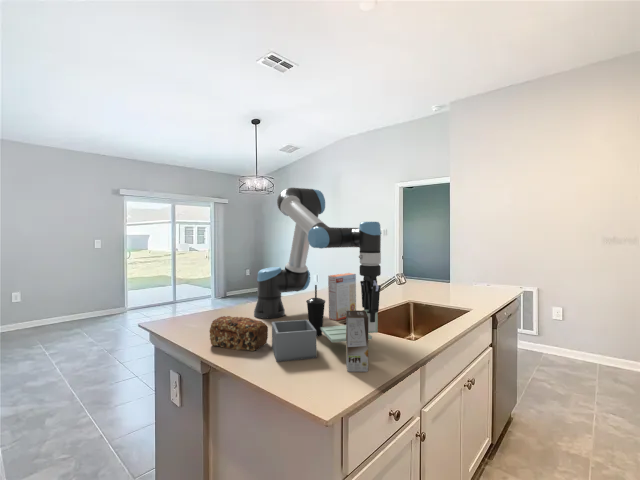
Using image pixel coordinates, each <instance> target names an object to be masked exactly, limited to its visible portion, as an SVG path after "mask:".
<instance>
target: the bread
mask: <svg viewBox="0 0 640 480" xmlns="http://www.w3.org/2000/svg"><path fill="white" fill-rule="evenodd" d="M268 328H269V327H268V325H267V324H266V323H265V322H263V321H262V320H257V319H253V318H251V317H247V316H246V317H243V316H230V315H227V316H225V315H224V316H219V317H217V318H216V319H213V321H212V323H210V327H209V340H210V345H211V346H213V347H216V346H218V347H221V348H224V349H231V350H237V351H249V352H254V351H257V350H259V349H260V347H263V346H265V345H266V344H268V343H267V342H268V338H269V337H268V335H269V329H268Z"/></svg>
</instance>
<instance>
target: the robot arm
mask: <svg viewBox="0 0 640 480" xmlns="http://www.w3.org/2000/svg"><path fill="white" fill-rule="evenodd" d="M276 203H277V204H276V205H277V208H278V211H280V213H281V214H282V215H284V216H286V217H289V218H290V219H292V221H293V222H294V223H295V225H294V231H293V237H292V243H291V247H290V248H291V249H290V255H289V261H288V262H286V263H285V266H284V269H282V268H281V267H279V266H271V267H267V268H265V267H264V268H262V269H260V270H258V272H257V279H256V281H257V300H256V304H255V307H254V310H253V316H254V317H255V318H258V319H277V318H281V317H284V316H285V314H286V311H285V306H284V304H283V300H282V293H293V292H300V291H301V292H302V291H305V290H306V289H307V288H308V287H309V285H310V283H311V273H310V270H309V269H308V267H307V265H306V264H307V258H308V254H309V250H310V247H311V248H313V249H336V248H338V249H339V248H359V255H358V258H359V263H360V265H359V275H360V276H362V277H363V280H360V282H359V283H360V288H361V289H360V290H361V293H360V294H361V307H362V308H363V310H369V311H367V313H368V331H375V313H376V312H378V313H379V311H380V310H379V309H380V293H381V289H382V286H381V284H380V285H379V284H378V280H377V279H378V278H377V277H380V276H381V273H382V272H381V267H382V266H381V265H380V264H382V261H381V260H382V251H381V246H382V245H381V241H382V238H381V236H382V235H381V234H382V230H381V224H380V222H379V221H361V222H360V223H359V227H331V226H328V225H327V224H326V223H324V222H323V221H322V219H320V218H319V215H322V214H323V213H324V212H325V210H326V198H325V196H324V194H323V192H322V191H321V190H319V189H314V188H303V187H301V188H300V187H288V188H285V189H284V190H282V191H280V193H279V195H278V197H277V199H276Z"/></svg>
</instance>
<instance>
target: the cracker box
mask: <svg viewBox="0 0 640 480" xmlns="http://www.w3.org/2000/svg"><path fill="white" fill-rule="evenodd" d="M327 278H328V279H327V281H328V288H327V289H328V319H329V320H332V321H341V320H346V311H356V310H357V274H356V273H350V272H346V273H340V274H339V273H338V274H337V273H336V274H332V275H331V274H330V275H328V276H327Z"/></svg>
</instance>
